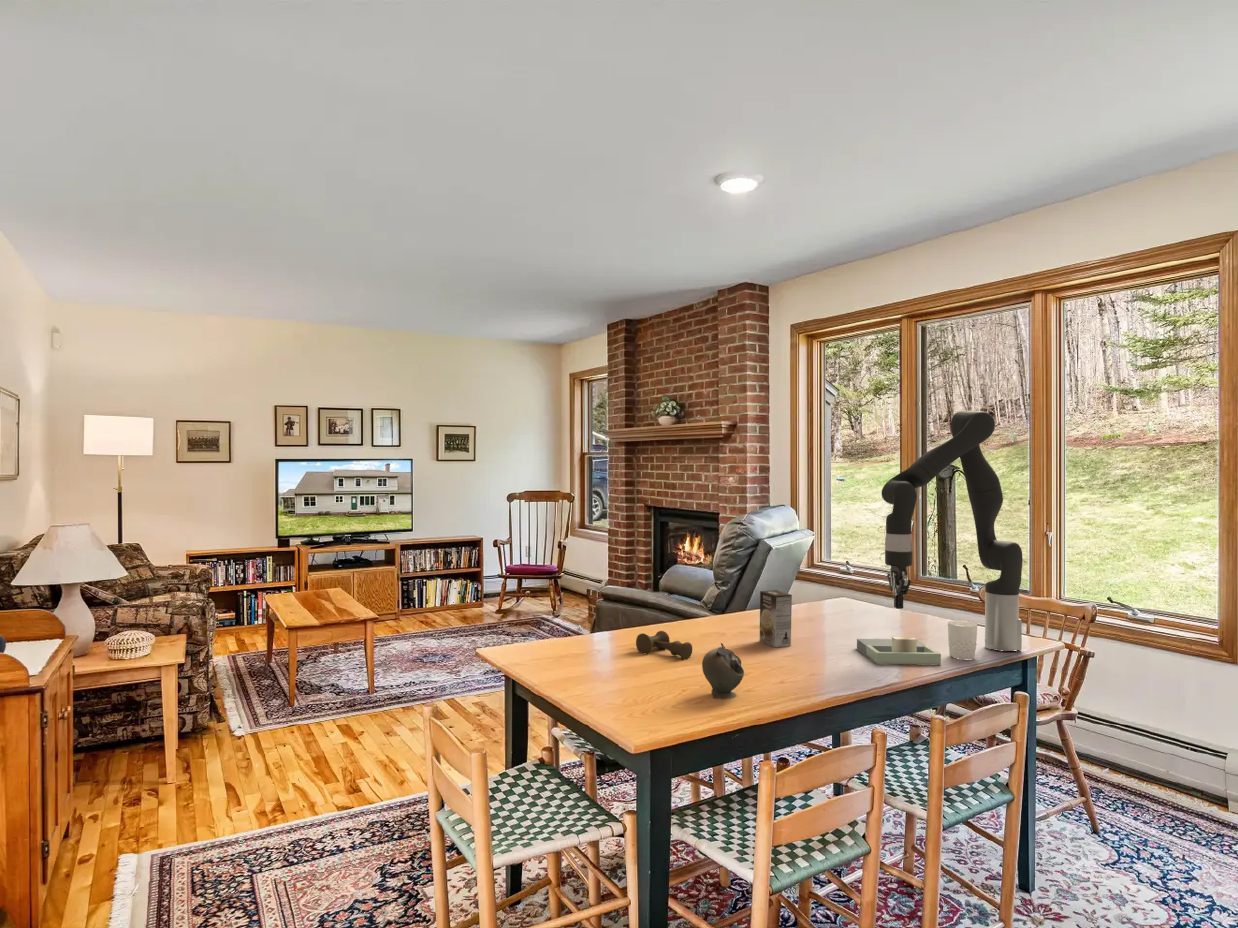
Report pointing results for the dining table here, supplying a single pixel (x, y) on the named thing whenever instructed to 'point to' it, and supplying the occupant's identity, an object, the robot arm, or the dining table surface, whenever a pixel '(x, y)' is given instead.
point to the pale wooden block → (904, 644)
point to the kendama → (663, 644)
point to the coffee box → (775, 618)
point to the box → (904, 656)
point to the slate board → (882, 645)
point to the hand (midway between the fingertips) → (898, 608)
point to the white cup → (962, 639)
